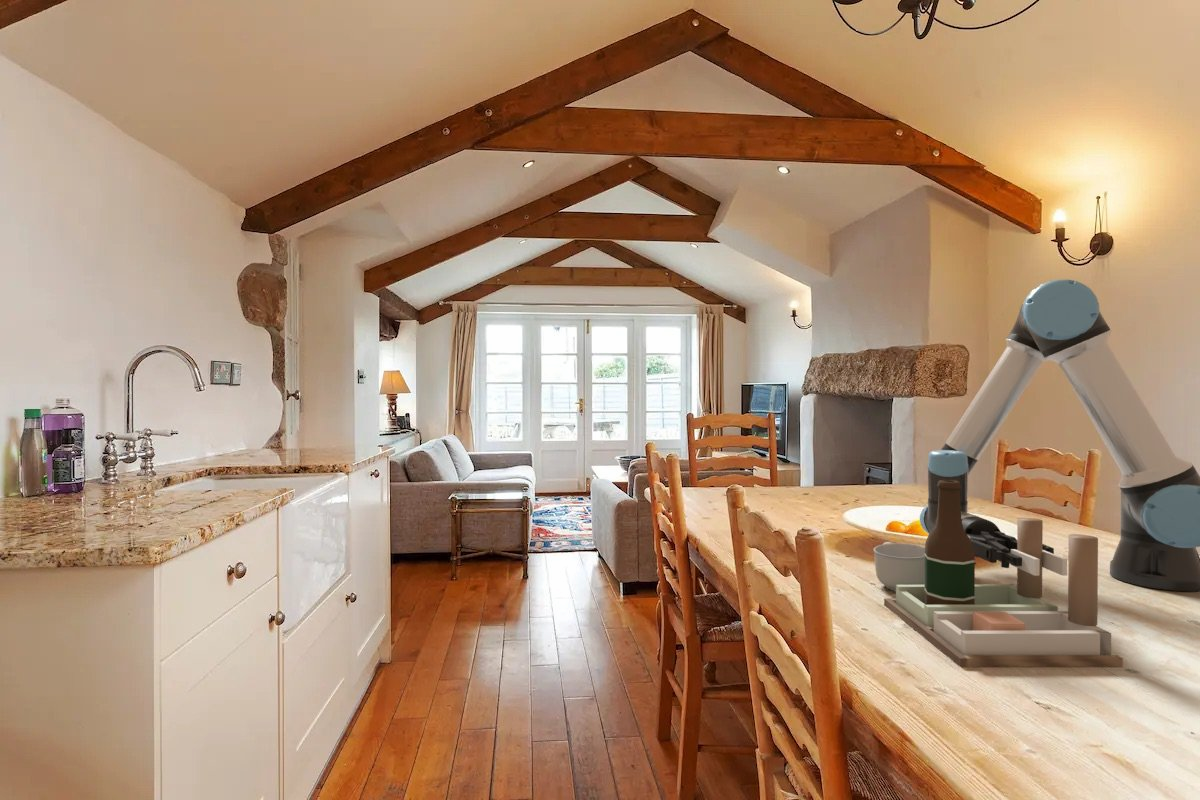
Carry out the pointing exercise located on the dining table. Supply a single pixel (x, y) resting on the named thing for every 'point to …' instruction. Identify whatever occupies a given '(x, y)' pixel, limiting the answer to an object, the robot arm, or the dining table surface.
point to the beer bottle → (949, 553)
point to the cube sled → (1041, 618)
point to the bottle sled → (990, 585)
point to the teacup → (900, 564)
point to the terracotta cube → (996, 622)
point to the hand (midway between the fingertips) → (1050, 567)
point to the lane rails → (1002, 659)
